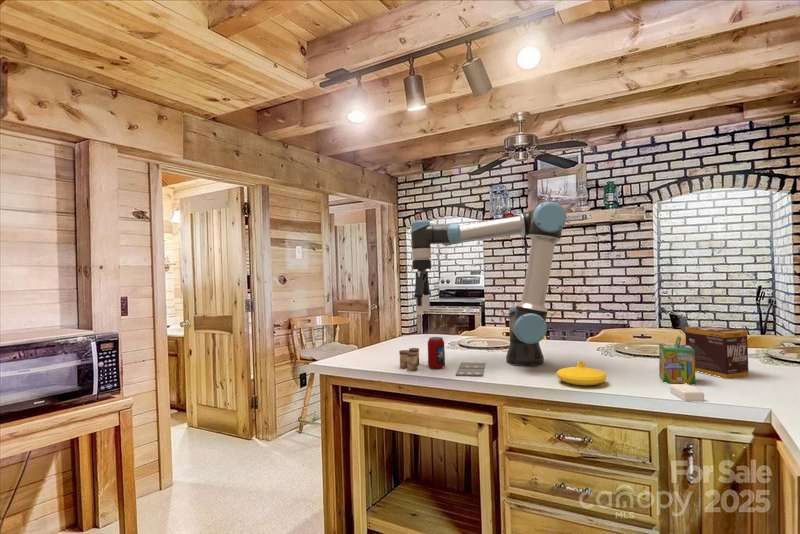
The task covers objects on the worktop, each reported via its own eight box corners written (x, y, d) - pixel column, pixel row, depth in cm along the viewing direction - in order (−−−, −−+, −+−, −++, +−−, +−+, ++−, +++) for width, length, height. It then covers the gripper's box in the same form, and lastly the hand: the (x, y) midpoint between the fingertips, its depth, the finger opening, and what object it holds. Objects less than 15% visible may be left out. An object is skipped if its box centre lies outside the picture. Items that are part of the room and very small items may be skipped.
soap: (705, 402, 125) (705, 391, 125) (684, 402, 126) (684, 391, 126) (688, 393, 134) (688, 383, 134) (669, 393, 135) (669, 383, 135)
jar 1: (410, 366, 182) (410, 350, 182) (408, 368, 178) (408, 352, 178) (401, 366, 183) (400, 350, 183) (398, 368, 179) (398, 351, 179)
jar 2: (420, 364, 186) (419, 348, 186) (418, 366, 182) (417, 349, 182) (410, 363, 187) (410, 347, 187) (408, 366, 183) (408, 349, 183)
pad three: (484, 370, 171) (484, 368, 171) (482, 376, 161) (482, 374, 161) (458, 369, 173) (458, 367, 173) (455, 375, 164) (455, 373, 164)
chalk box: (659, 376, 154) (657, 334, 154) (690, 378, 150) (688, 334, 150) (663, 383, 145) (662, 338, 145) (696, 385, 142) (695, 339, 142)
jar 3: (418, 369, 177) (418, 352, 177) (416, 371, 173) (416, 354, 173) (408, 368, 178) (407, 351, 178) (406, 371, 174) (405, 353, 174)
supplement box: (726, 379, 148) (725, 332, 148) (685, 369, 162) (684, 327, 162) (750, 376, 150) (748, 330, 150) (707, 367, 165) (706, 325, 165)
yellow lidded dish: (548, 384, 149) (547, 363, 149) (569, 375, 160) (568, 355, 160) (595, 392, 138) (595, 369, 138) (614, 382, 149) (613, 361, 149)
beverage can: (444, 369, 174) (443, 339, 174) (427, 369, 176) (426, 339, 176) (445, 365, 181) (444, 336, 181) (429, 365, 182) (428, 336, 182)
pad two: (485, 364, 182) (485, 362, 182) (484, 369, 172) (484, 367, 172) (460, 363, 184) (460, 361, 184) (458, 369, 174) (458, 367, 174)
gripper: (418, 260, 189) (420, 309, 189) (405, 259, 164) (407, 316, 164) (435, 259, 187) (437, 309, 187) (425, 258, 163) (427, 316, 163)
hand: (423, 312), depth 176 cm, fingers open, 13 cm apart
